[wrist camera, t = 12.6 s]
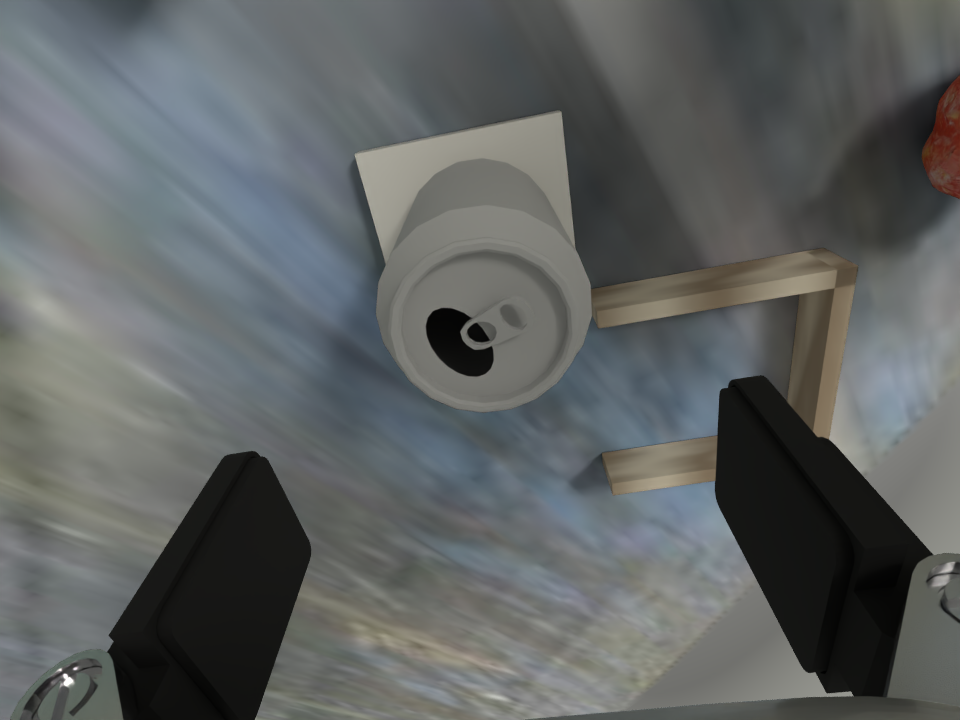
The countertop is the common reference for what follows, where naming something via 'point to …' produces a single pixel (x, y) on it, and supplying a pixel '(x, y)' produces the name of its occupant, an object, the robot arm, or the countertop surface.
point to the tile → (413, 163)
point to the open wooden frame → (805, 273)
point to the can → (483, 290)
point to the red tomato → (945, 144)
